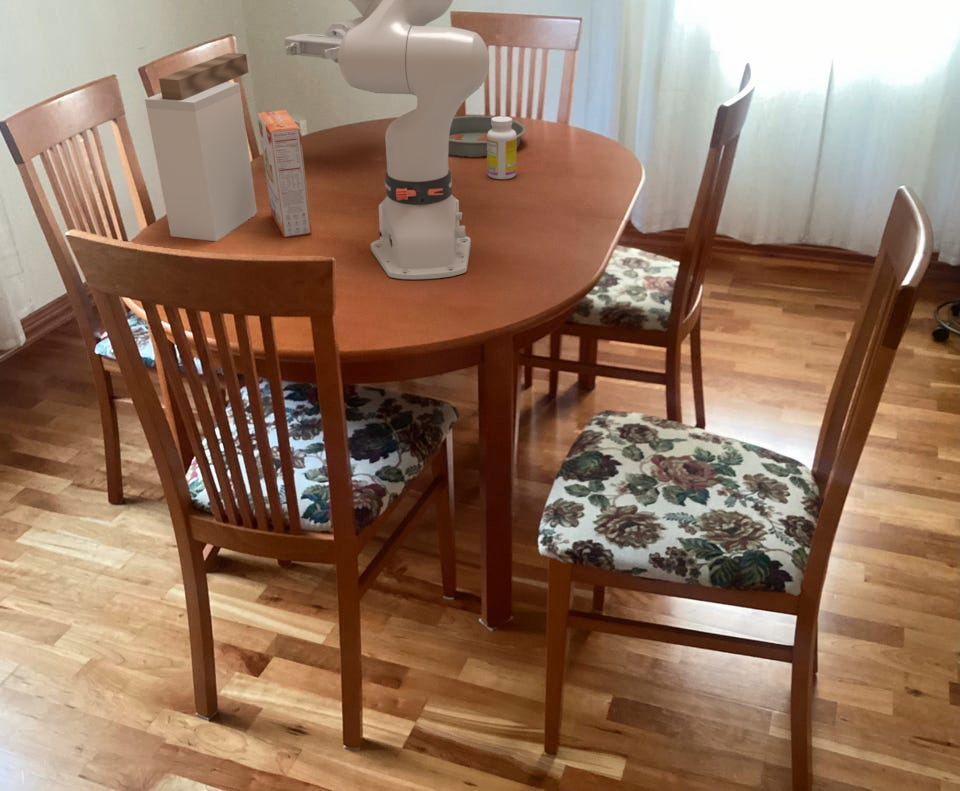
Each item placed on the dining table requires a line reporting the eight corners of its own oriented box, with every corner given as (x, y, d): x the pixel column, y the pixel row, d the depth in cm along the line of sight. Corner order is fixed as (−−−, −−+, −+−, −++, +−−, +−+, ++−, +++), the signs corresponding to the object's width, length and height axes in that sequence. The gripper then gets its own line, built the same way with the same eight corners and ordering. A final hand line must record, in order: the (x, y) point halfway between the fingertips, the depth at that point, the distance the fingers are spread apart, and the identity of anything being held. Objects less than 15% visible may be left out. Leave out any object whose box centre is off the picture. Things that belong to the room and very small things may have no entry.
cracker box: (269, 215, 188) (256, 111, 177) (298, 211, 190) (287, 108, 179) (281, 239, 177) (268, 129, 166) (312, 234, 178) (301, 126, 168)
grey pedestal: (214, 209, 191) (193, 80, 178) (257, 213, 189) (239, 83, 175) (170, 236, 178) (144, 99, 165) (216, 241, 176) (193, 102, 162)
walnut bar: (230, 71, 184) (228, 53, 183) (248, 72, 183) (246, 54, 182) (162, 98, 165) (158, 78, 163) (182, 100, 164) (178, 80, 162)
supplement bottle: (517, 171, 212) (518, 115, 205) (515, 180, 206) (516, 123, 200) (488, 171, 212) (488, 114, 206) (485, 180, 207) (485, 122, 200)
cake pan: (495, 165, 217) (495, 146, 214) (409, 151, 227) (408, 132, 225) (542, 140, 235) (543, 122, 233) (460, 127, 246) (460, 110, 243)
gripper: (306, 24, 209) (265, 33, 198) (380, 31, 200) (342, 40, 190) (309, 54, 212) (269, 64, 201) (382, 61, 203) (345, 72, 193)
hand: (305, 53), depth 195 cm, fingers open, 8 cm apart
